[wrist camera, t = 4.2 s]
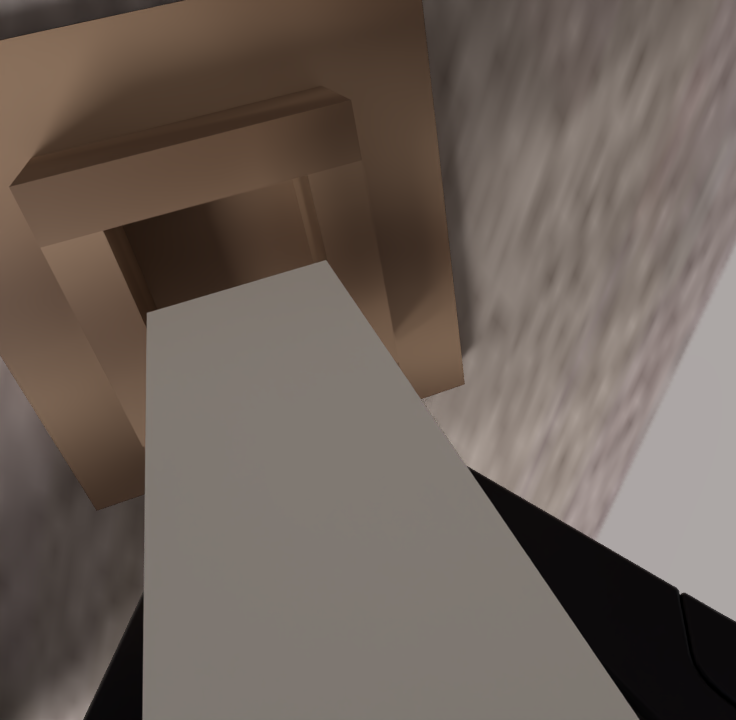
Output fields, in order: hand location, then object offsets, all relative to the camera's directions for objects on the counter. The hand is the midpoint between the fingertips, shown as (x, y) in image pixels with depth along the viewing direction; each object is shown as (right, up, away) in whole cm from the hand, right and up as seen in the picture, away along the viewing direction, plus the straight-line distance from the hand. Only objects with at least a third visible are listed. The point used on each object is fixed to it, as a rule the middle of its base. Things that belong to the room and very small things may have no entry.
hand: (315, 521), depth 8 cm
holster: (-3, +5, +8) cm, 10 cm away
